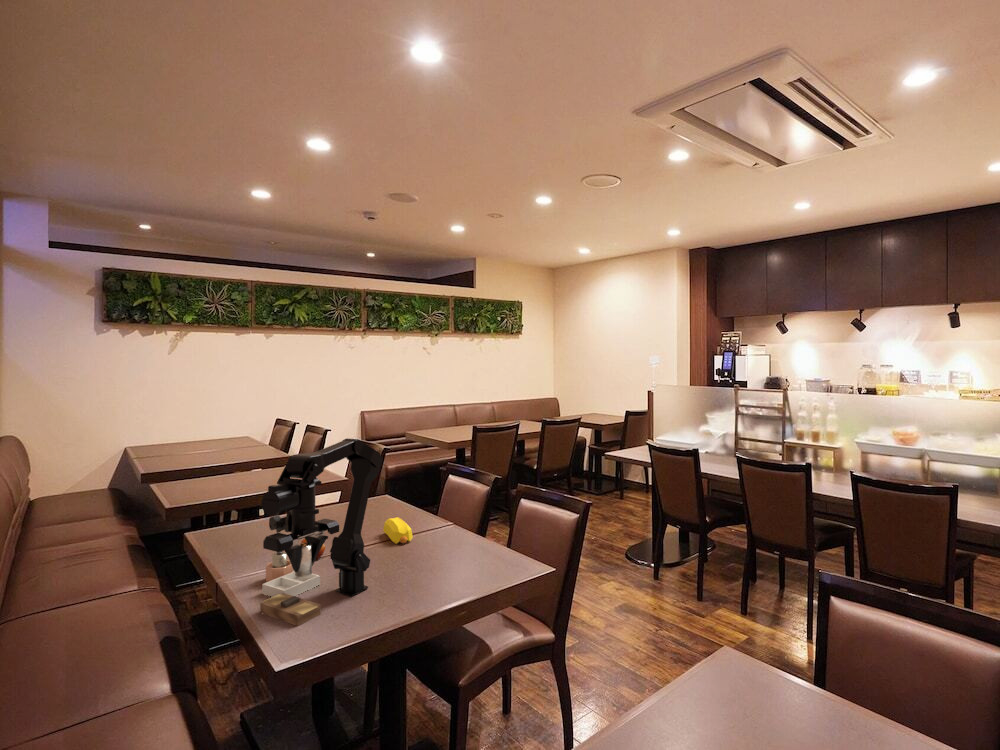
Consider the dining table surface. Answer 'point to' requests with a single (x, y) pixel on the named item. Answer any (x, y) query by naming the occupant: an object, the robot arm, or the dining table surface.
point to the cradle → (290, 609)
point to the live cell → (305, 560)
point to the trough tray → (291, 584)
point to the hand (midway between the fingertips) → (303, 568)
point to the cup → (277, 571)
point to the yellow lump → (397, 530)
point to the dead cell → (279, 560)
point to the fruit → (319, 551)
